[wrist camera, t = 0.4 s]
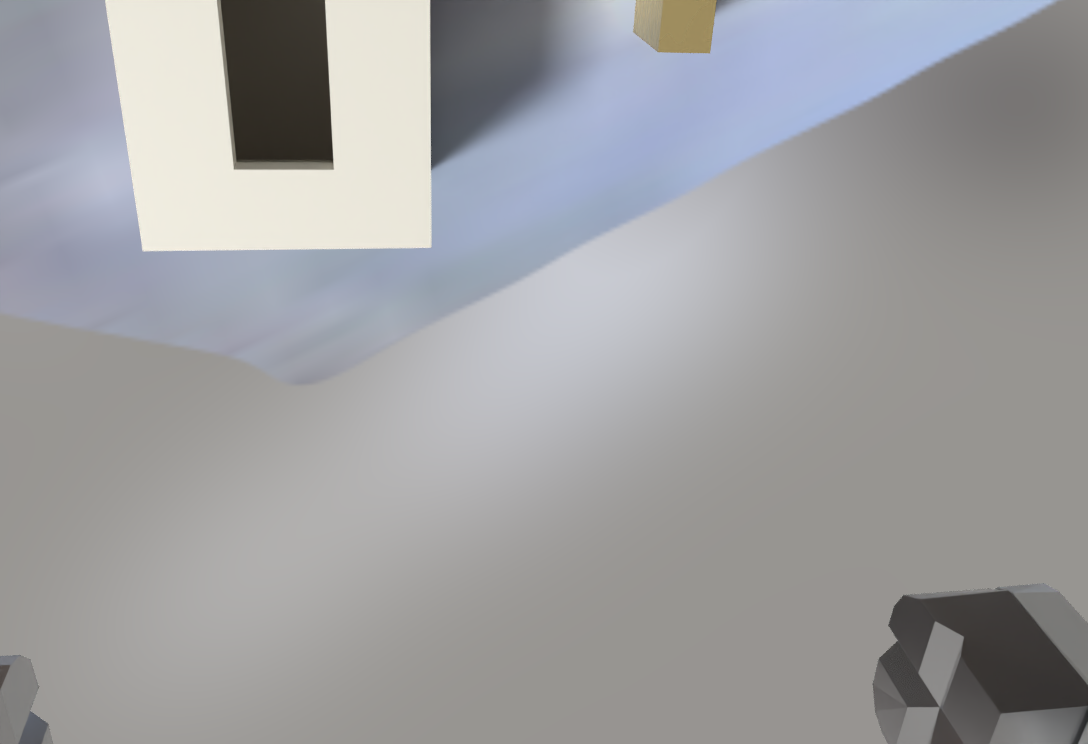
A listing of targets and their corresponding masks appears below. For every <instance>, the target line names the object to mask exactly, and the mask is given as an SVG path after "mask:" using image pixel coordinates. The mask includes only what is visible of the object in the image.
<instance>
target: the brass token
mask: <svg viewBox="0 0 1088 744" xmlns="http://www.w3.org/2000/svg"><path fill="white" fill-rule="evenodd" d="M716 1H717V0H636V6H635V18H634V29H633V32H634V33H635V34H636V35H637V36H639V37H640V38H641V39H642V40H644V41H645V42H646V43H647V44H649V45H650V46H651V47H652V48H653V49H655V50H656V51H657V52H674V53H710V49H711V41H712V33H713V25H714V17H715V9H716Z"/></svg>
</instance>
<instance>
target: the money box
mask: <svg viewBox="0 0 1088 744" xmlns="http://www.w3.org/2000/svg"><path fill="white" fill-rule="evenodd" d="M105 2H106V9H107V16H108V22H109V29H110V36H111V42H112V49H113V56H114V62H115V69H116V75H117V82H118V89H119V95H120V102H121V109H122V115H123V122H124V129H125V135H126V142H127V149H128V155H129V162H130V168H131V175H132V182H133V188H134V195H135V202H136V208H137V215H138V222H139V228H140V235H141V242H142V248H143V251H198V250H283V249H368V248H431V85H430V0H105Z"/></svg>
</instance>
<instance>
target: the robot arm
mask: <svg viewBox="0 0 1088 744" xmlns="http://www.w3.org/2000/svg"><path fill="white" fill-rule="evenodd" d="M888 626H889V627H890V629H891V631H892V632H893V634H894V636H895V637H896V639H897V640H898V641H897V642H896V643H895V644H894V645H893V646H892V647H891V648H890V649H889V650H887V651H886V653H884V654H883V655H882V656H881V657H880V658H879V660H878V664H877V668H876V672H875V677H874V681H873V693H874V704H875V713H876V716H877V719H878V722H879V725H880V728H881V731H882V733H883V735H884V737H885V739H886V741H887V743H888V744H1088V623H1087V622H1086V621H1085V620H1084V619H1083V618H1082V616H1081V615H1080V614H1079V613H1078V612H1077V611H1076V610H1075V609H1074V607H1073V606H1072V605H1071V604H1070V603H1069V602H1068V601H1067V600H1066V599H1065V597H1064V596H1063V595H1062V594H1061V593H1060V592H1059V591H1057V590H1056V589H1054V588H1052V587H1050V586H1048V585H1046V584H1044V583H1043V584H1032V585H1019V586H1007V587H998V588H995V589H989V588H988V589H975V590H963V591H949V592H936V593H923V594H910V595H903V596H902V598H901V599H900V600H899V601H898V602H897V603H896V604H895V606H894V608H893V611H892V615H891V618H890V621H889V625H888ZM38 688H39V686H38V683H37V679H36V676H35V673H34V669H33V666H32V663H31V660H30V659H28V658H26V657H24V656H21V655H13V656H0V744H53V742H52V737H51V734H50V729H49V725H48V723H46V722H45V721H44V720H42V719H41V718H40V717H38V716H37V715H35V714H34V713H32V712H31V711H30V710H31V707H32V705H33V702H34V699H35V697H36V694H37V691H38Z"/></svg>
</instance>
